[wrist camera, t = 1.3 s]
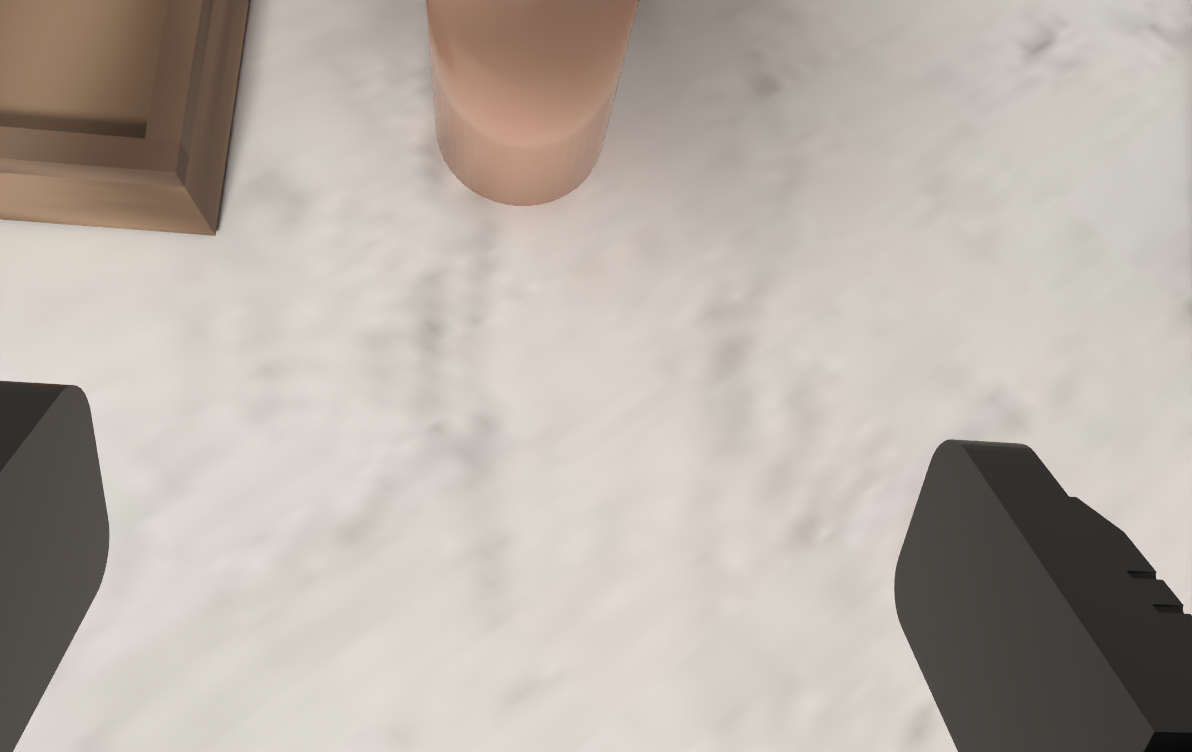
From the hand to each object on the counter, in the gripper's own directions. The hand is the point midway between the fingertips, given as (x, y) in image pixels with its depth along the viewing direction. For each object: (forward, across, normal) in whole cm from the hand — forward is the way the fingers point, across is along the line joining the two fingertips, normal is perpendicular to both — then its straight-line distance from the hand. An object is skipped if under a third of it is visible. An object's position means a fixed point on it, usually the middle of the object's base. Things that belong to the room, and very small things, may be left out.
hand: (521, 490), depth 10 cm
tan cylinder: (+21, 0, +3) cm, 21 cm away
